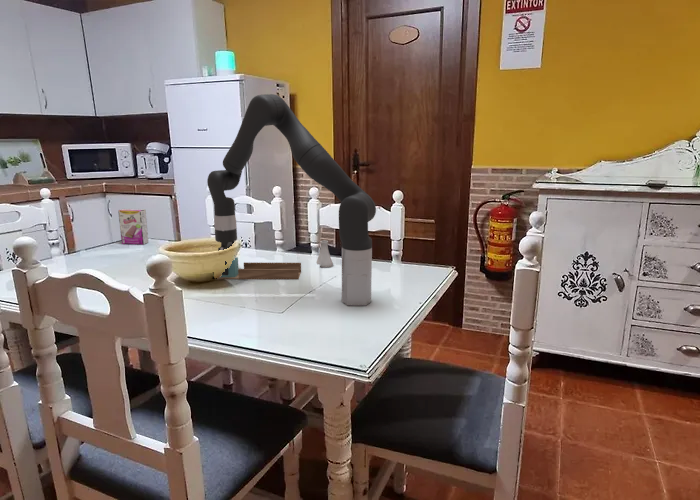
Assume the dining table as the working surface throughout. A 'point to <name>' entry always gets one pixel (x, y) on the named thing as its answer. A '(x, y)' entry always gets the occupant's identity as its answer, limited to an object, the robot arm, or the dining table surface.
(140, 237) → the candy bar box
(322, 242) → the flask
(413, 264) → the dining table surface
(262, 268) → the trap channel
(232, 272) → the teal block
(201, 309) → the dining table surface
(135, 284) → the dining table surface
